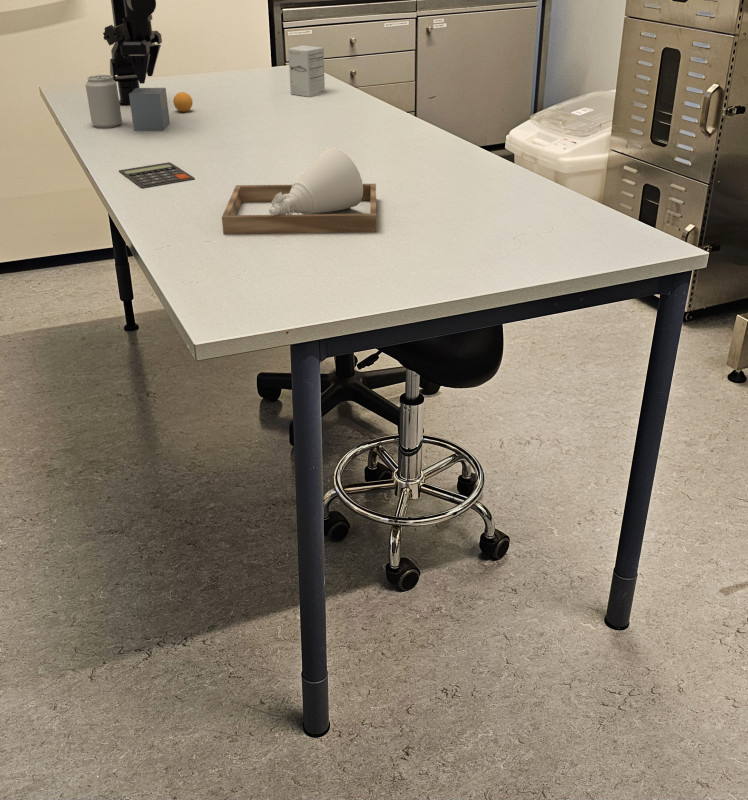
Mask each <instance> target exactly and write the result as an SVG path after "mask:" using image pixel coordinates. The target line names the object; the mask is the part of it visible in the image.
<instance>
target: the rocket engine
mask: <svg viewBox="0 0 748 800" xmlns="http://www.w3.org/2000/svg"><path fill="white" fill-rule="evenodd" d="M363 184H364V183H363V179H362V176H361V174H360V171H359V169H358V167H357V166H356V164H355V163H354V161H353V160H352V158H351V157H350V156H349V155H348V154H347V153H345V152H344V151H343V150H341V149H339V148H337V147H336V148H335V147H329V148H327V149H325V150H324V151H323V152H321V154H319V155H318V156H317V157H316V158H315V159H314V161H312V162H311V164H309V165H308V167H307V168H306V169H305V170H304V171H303V173H302V174H301V175H300V177H299V178H298V179H297V180H296V182H294V183H293V184H291V185H292V188H291V190H290V193H288V194H284V195H283V194H282V193H281V192H280V193H278V194H276V196H275V197H274V199H273V201H272V202H271V206H270V208H269V209H268V213H269V214H268V215H273V216H274V215H294V214H297V215H300V214H320V213H321V214H322V213H329V212H337V211H343V210H346V209H350V208H354V207H356V206H358V205H359V204H360V203H361V200H362V196H363ZM284 198H286V199H284ZM282 199H284V200H283V201H282V202H281V200H282Z"/></svg>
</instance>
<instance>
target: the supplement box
mask: <svg viewBox="0 0 748 800" xmlns="http://www.w3.org/2000/svg"><path fill="white" fill-rule="evenodd" d="M324 49H325V48H324V47H319V46H312V45H305V44H303V45H298V46H293V47H290V48H288V64H289V65H288V67H289V68H288V69H289V86H290V88H289V89H290V94H291V95H297V96H300V97H301V96H303V97H307V98H312V97H316V96H318V95H319V96H320V95H323V94H325V93H326V91H325V90H326V87H325V86H326V85H325V60H324V59H325V56H324V54H325V53H324Z"/></svg>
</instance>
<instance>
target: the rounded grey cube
mask: <svg viewBox="0 0 748 800" xmlns="http://www.w3.org/2000/svg"><path fill="white" fill-rule="evenodd" d="M129 98H130V105H129V106H130V112H131V119H132V125H133V131H134V132H138V131H139V132H143V131H148V132H149V131H165V130H166V129H167V127H168V126H169V125H170V124H171V121H170V112H169V104H168V97H167V88H166V87H140V88H135V89H134V90H133V91H132V92H131V93H130V94H129Z"/></svg>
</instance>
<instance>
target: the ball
mask: <svg viewBox="0 0 748 800" xmlns="http://www.w3.org/2000/svg"><path fill="white" fill-rule="evenodd" d="M172 103H173V105H174V108H175V109H176V110H177V111H179V112H181V113H182V112H183V113H184V112H188V111H189V110H190V109H192V107H193V99H192V97H191V95H190V94H188V93H187V92H184V91H180V92H177V93H176V95H174V96H173V102H172Z"/></svg>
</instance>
